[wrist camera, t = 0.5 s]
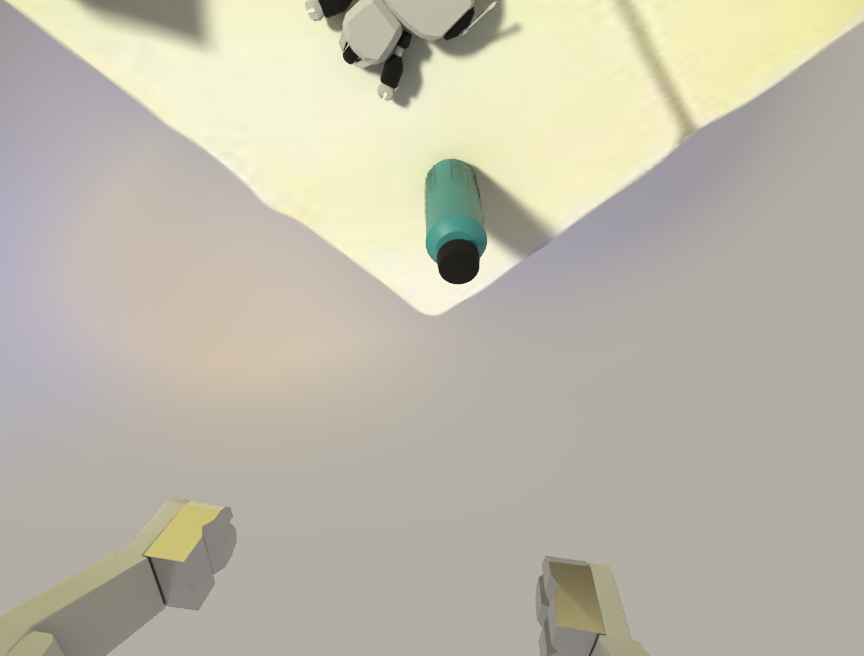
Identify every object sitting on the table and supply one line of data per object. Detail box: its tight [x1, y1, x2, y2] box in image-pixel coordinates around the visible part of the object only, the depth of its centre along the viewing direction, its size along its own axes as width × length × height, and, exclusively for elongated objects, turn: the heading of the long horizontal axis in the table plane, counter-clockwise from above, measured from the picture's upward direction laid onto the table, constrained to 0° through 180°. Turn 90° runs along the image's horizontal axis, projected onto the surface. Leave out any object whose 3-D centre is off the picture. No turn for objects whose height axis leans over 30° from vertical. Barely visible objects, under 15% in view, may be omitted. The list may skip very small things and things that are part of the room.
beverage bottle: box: [424, 159, 487, 284], centre depth 46 cm, size 6×7×20 cm
